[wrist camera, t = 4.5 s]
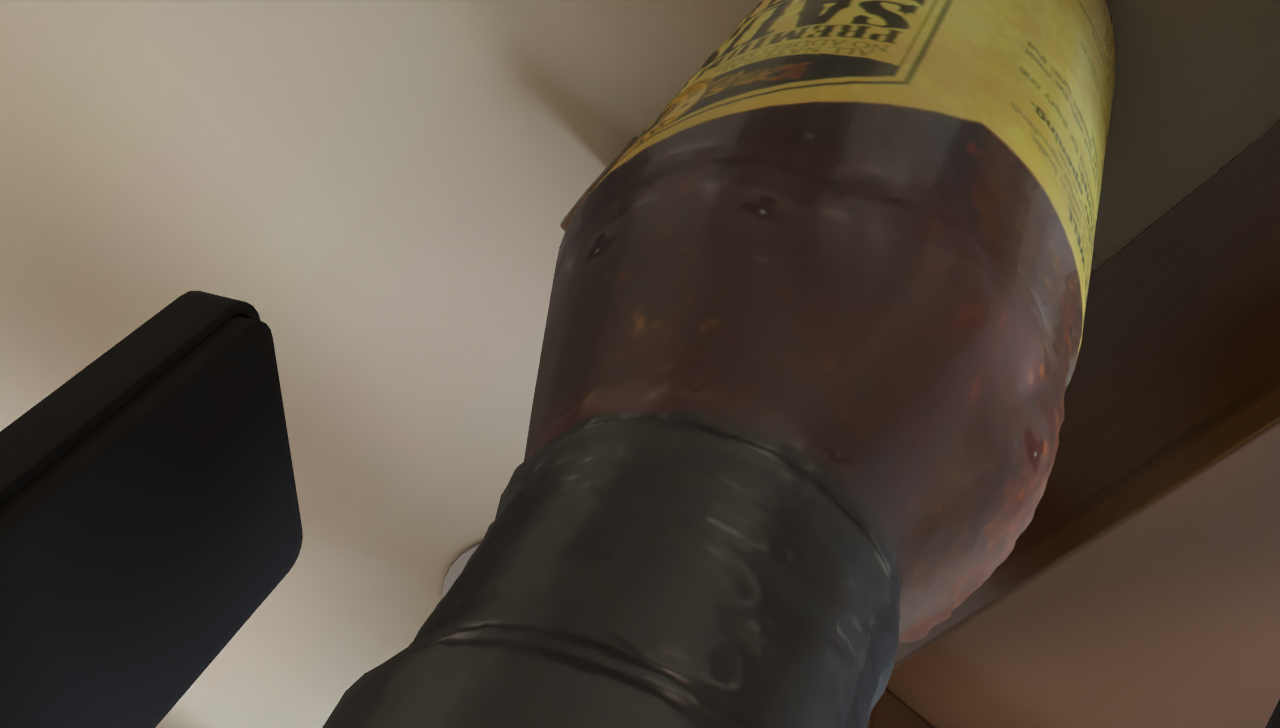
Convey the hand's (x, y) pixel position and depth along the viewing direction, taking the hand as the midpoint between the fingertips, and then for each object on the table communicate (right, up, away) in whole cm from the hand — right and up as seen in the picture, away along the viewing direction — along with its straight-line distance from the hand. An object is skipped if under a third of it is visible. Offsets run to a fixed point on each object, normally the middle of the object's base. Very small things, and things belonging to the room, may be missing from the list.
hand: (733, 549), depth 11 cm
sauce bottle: (+5, +8, +13) cm, 16 cm away
